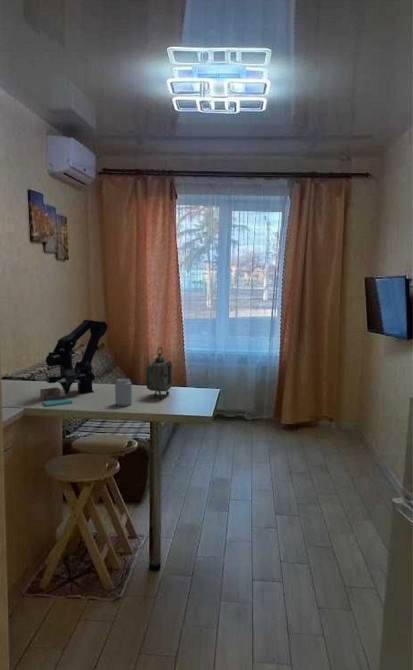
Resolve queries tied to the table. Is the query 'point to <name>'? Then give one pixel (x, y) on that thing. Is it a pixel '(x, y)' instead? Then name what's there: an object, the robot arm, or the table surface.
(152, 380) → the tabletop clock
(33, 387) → the table surface
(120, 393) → the can
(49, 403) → the pad
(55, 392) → the walnut block
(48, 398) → the grey blocks
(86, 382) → the robot arm
